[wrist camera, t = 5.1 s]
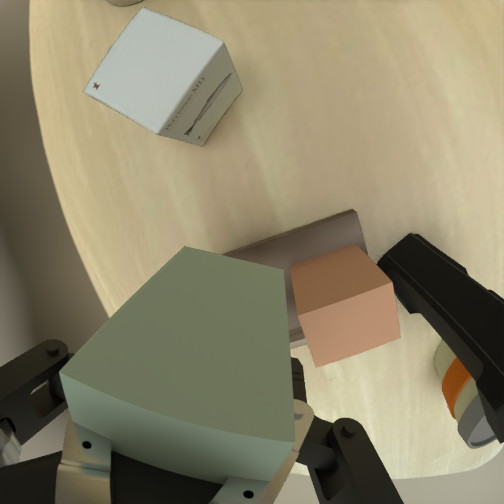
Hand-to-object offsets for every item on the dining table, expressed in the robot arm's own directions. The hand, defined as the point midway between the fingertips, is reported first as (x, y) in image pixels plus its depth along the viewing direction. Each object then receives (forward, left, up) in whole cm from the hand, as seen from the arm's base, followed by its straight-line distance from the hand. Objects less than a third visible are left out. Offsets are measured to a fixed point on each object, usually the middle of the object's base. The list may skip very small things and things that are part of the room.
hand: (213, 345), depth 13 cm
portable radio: (+9, +16, -18) cm, 26 cm away
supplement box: (-16, 0, -18) cm, 24 cm away
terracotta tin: (+6, +7, -17) cm, 19 cm away
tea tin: (0, 0, -3) cm, 3 cm away
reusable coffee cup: (+25, +23, -18) cm, 39 cm away
